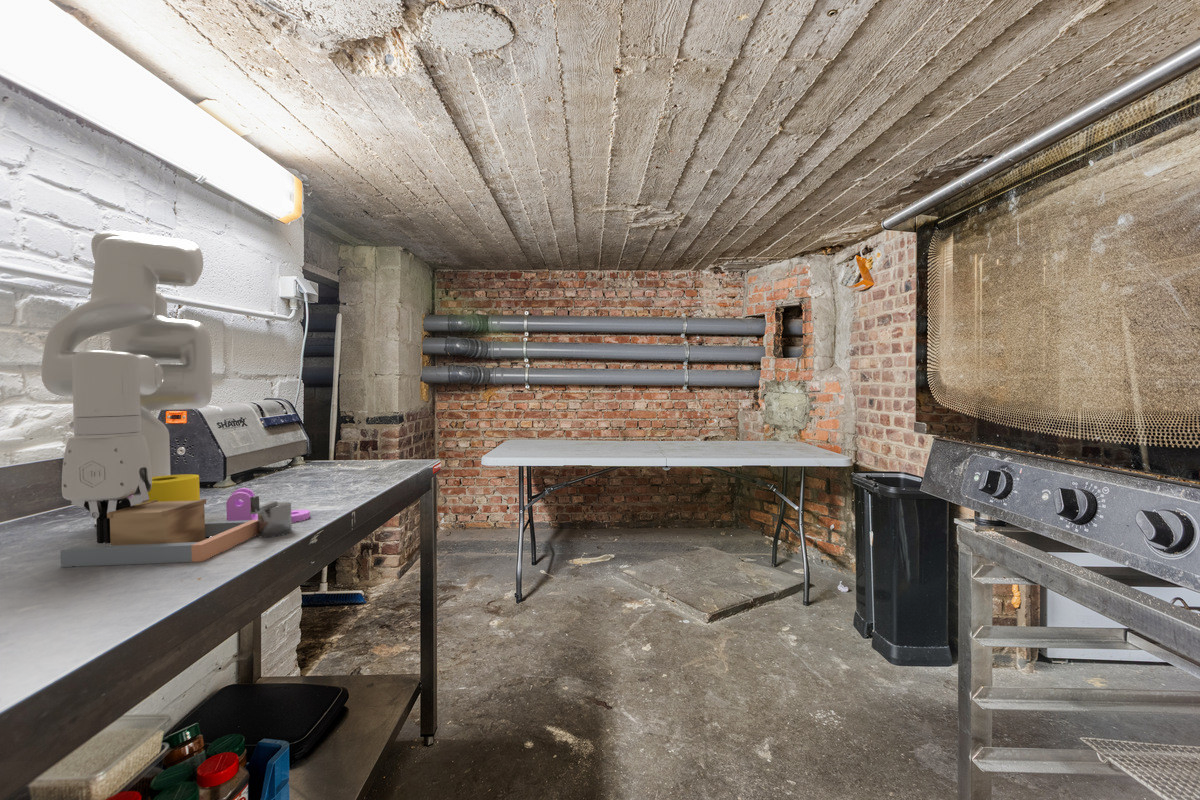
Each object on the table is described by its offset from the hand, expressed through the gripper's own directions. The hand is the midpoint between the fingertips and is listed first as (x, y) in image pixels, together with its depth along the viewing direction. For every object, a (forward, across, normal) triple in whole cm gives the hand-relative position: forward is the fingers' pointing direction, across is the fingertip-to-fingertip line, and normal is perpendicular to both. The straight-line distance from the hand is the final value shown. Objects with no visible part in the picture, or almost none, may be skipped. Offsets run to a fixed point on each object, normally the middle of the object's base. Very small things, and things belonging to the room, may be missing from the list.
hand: (112, 540), depth 76 cm
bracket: (+2, +15, +15) cm, 22 cm away
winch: (+2, +21, +6) cm, 22 cm away
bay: (+2, +8, 0) cm, 8 cm away
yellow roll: (+2, -2, +13) cm, 14 cm away
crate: (+2, +7, 0) cm, 8 cm away
